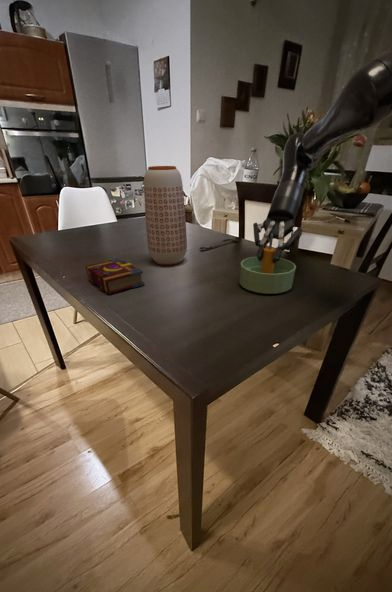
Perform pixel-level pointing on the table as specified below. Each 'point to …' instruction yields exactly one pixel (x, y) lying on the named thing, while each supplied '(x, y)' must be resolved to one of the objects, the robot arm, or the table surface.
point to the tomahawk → (220, 244)
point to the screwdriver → (268, 258)
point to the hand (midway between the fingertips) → (266, 260)
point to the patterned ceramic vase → (165, 215)
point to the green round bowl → (267, 276)
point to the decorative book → (114, 275)
